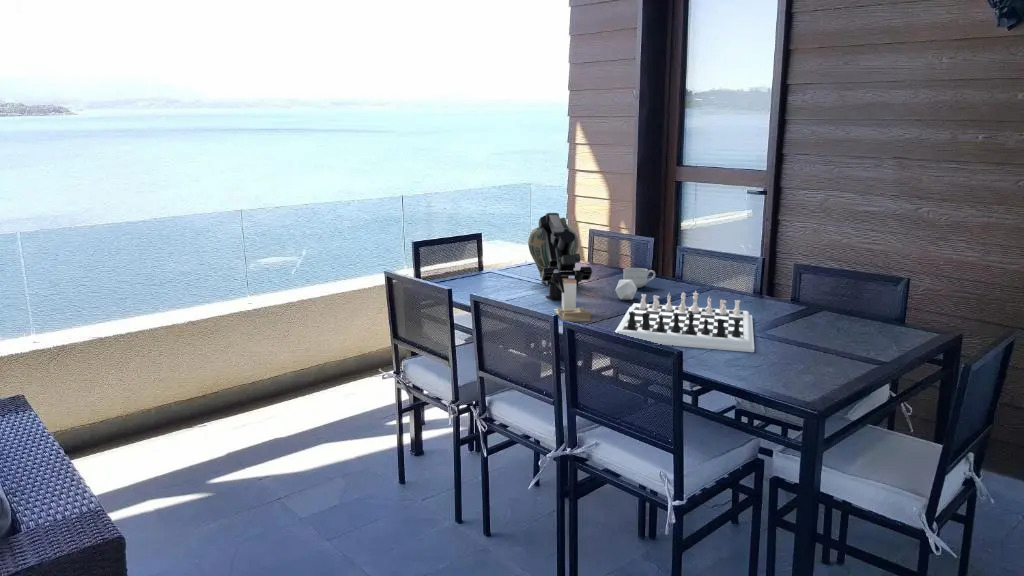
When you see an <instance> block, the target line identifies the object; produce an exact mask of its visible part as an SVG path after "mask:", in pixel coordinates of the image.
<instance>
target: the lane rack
mask: <svg viewBox="0 0 1024 576" xmlns="http://www.w3.org/2000/svg"><path fill="white" fill-rule="evenodd" d="M553 310H554V311H555V313H556V314H557V315H558V316H559V318H561V320H562V321H563V320H567V321H566V322H586V321H588V322H589V321H590V322H591V321H592V320H591V311H587V310H586V309H585V308H584V307H576V309H566V310H564V309H563V308H562V307H560V308H559V307H558V308H553Z"/></svg>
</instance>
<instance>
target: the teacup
mask: <svg viewBox="0 0 1024 576" xmlns="http://www.w3.org/2000/svg"><path fill="white" fill-rule="evenodd" d="M622 270H623V274H622V275H623V279H622V280H632V281H633V282H634V284H635V286H636V287H637V289H638V288H644V286H645V285H647V284H649V282H650V281H652V280H653V279H655V277H656V271H655V270H652V269H651V270H649V269H647V268H643V267H642V268H641V267H628V268H627V267H626V268H623V269H622ZM650 273H652V276H651V277H650V278H648V276H649V274H650Z"/></svg>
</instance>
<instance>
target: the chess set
mask: <svg viewBox="0 0 1024 576" xmlns="http://www.w3.org/2000/svg"><path fill="white" fill-rule="evenodd" d="M680 294H681V295H680V298H681V299H680V300H681V301H680V305H672V302H671V300H672V299H671V298H672V296H671V294H670V292H668V294H667V298H666V300H667V303H666V304H665V305H664V304H663V305H662V304H660V301H659V299H660V298H661V297H660V296H659V295H653V296H652V297H653V298H652V299H653V302H652V304H651V303H650V304H649V303H647V301H646V299H647V294H645V293H644V294H643V293H641V294H640V295H641V299H640V303H635V302H633V303H632V305H631V306H629V308H628V310H627V311H626V312H625V315H624V316H623V317H622V320H620V322H619V324H618V326H617V328H616V329H615V331H614V332H616V333H619V334H623V335H627V336H630V337H634V338H639V339H643V340H647V341H651V342H654V343H658V344H657V345H660V344H662V346H672V345H673V346H674V347H683V348H684V347H686V348H697V349H707V350H709V349H710V350H721V351H723V350H724V351H733V352H735V351H736V352H745V353H747V352H748V353H754V352H755V342H754V341H755V339H754V326H753V323H754V322H753V315H752V314H750V312H749V311H748V310H740V303H741V300H738V299H737V300H736V299H735V300H734V309H727V305H726V303H727V300H725V299H720V300H719V308H712V298H711V297H710V296H711V295H709V296H708V298H707V306H706V307H699V306H698V298H699V296H698V295H699V293H697V290H695V291H694V292H692V295H693V296H692V298H693V299H692V300H693V301H692V302H693V303H692V305H691V306H687V305H686V302H685V301H686V298H687V297H686V295H687V294H686V293H685V292H684V291H683V292H682V293H680ZM673 346H672V347H673Z"/></svg>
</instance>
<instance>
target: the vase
mask: <svg viewBox="0 0 1024 576" xmlns="http://www.w3.org/2000/svg"><path fill="white" fill-rule="evenodd" d="M560 221H561V224H562V226H563V228H566V229H569V231H570V232H572V233H573V234H574V235H575V240H574V243H573V247H572V249H571V250H570V251H571V255H574V254H578V253H577V252H578V249H579V240H578V239H579V238H578V235H577V233H576V232H575V230H574V229H572V228H570V227H569V226H568V224H567V219H566V217H561V218H560ZM527 242H528V243H527V245H528V249H529V254H530V256H531V257H532V259H533V261H534V263H535V265H536V268H537V270H538V272H539V277H540V279H541V282H542V283H545V281H542V271H543V269H544V267H548V266H549V263H550V260H549V254H548V248H547V242H546V237H544V236H543V235H542V234H541V230H540V229H539V226H538V227H535V228H534V229H532V230H531V232H530V234H529V236H528V240H527ZM545 284H546V283H545Z"/></svg>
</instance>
